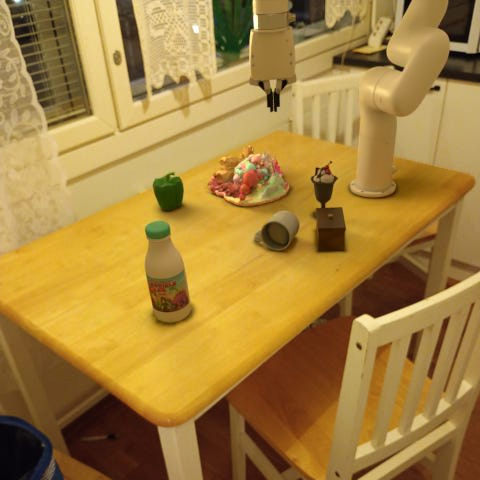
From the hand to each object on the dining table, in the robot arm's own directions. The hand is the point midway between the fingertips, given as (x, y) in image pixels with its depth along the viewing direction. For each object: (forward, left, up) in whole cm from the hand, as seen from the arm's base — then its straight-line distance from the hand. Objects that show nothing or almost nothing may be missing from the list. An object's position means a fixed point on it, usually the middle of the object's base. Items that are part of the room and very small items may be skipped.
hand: (273, 110), depth 123 cm
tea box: (+3, +19, -27) cm, 33 cm away
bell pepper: (+13, -28, -27) cm, 41 cm away
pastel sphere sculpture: (-10, -18, -27) cm, 34 cm away
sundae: (-7, +10, -27) cm, 30 cm away
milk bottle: (+46, +10, -27) cm, 54 cm away
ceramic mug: (+11, +9, -27) cm, 31 cm away
